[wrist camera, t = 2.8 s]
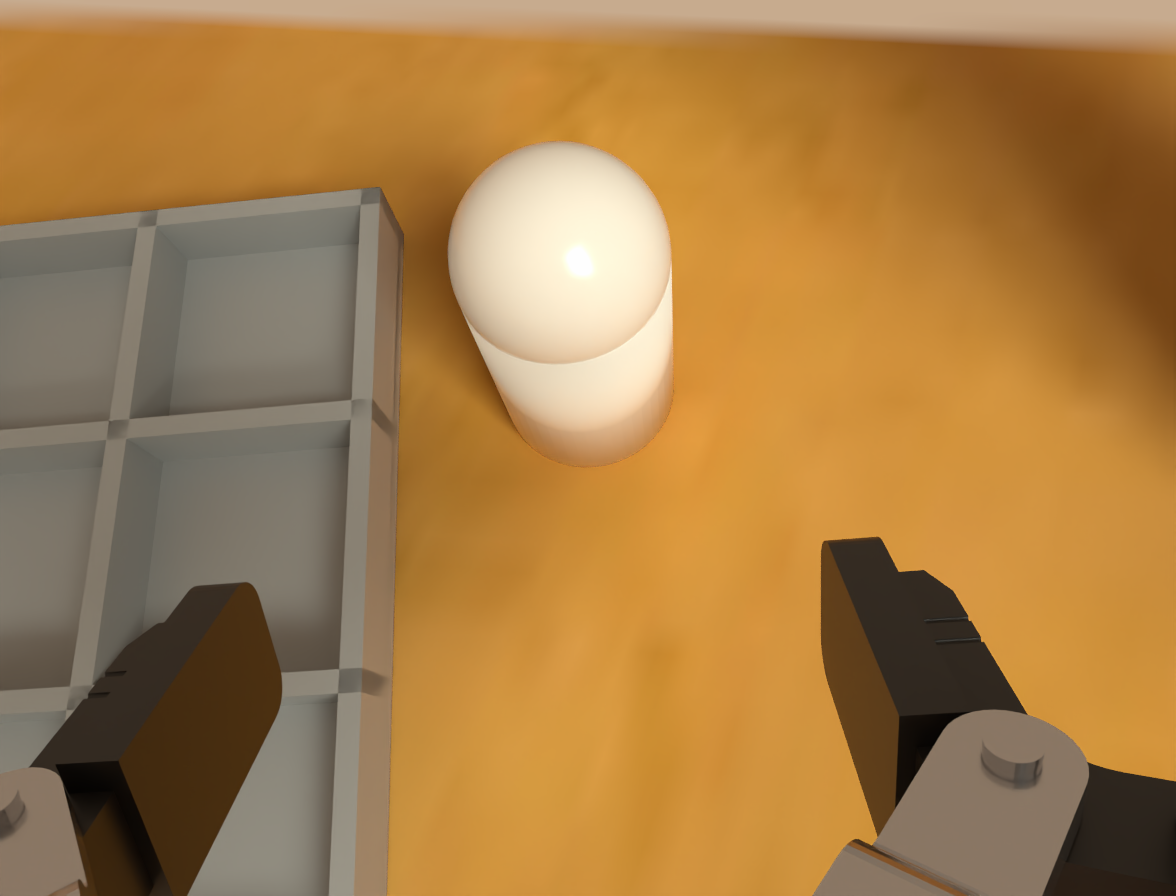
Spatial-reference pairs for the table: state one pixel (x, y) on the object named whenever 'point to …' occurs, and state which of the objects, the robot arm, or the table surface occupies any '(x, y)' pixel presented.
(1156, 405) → the table surface
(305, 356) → the grey compartment tray
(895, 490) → the table surface
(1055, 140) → the table surface
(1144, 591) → the table surface
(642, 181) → the cream rounded cylinder
